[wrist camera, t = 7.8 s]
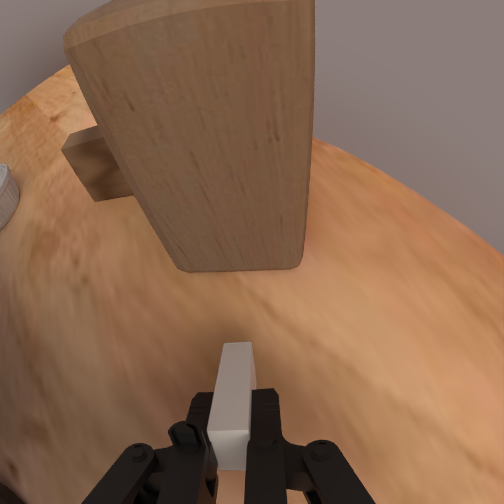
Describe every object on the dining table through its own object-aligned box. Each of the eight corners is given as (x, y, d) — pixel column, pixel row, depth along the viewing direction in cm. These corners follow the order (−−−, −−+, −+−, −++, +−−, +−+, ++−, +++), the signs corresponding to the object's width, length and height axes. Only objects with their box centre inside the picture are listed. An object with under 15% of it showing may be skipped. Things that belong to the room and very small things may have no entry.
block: (177, 277, 24) (47, 36, 7) (192, 186, 29) (131, -11, 12) (303, 273, 23) (319, -24, 6) (293, 180, 28) (288, -36, 11)
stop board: (94, 201, 30) (60, 149, 23) (100, 185, 31) (70, 134, 24) (298, 177, 28) (299, 107, 22) (294, 160, 30) (294, 93, 23)
